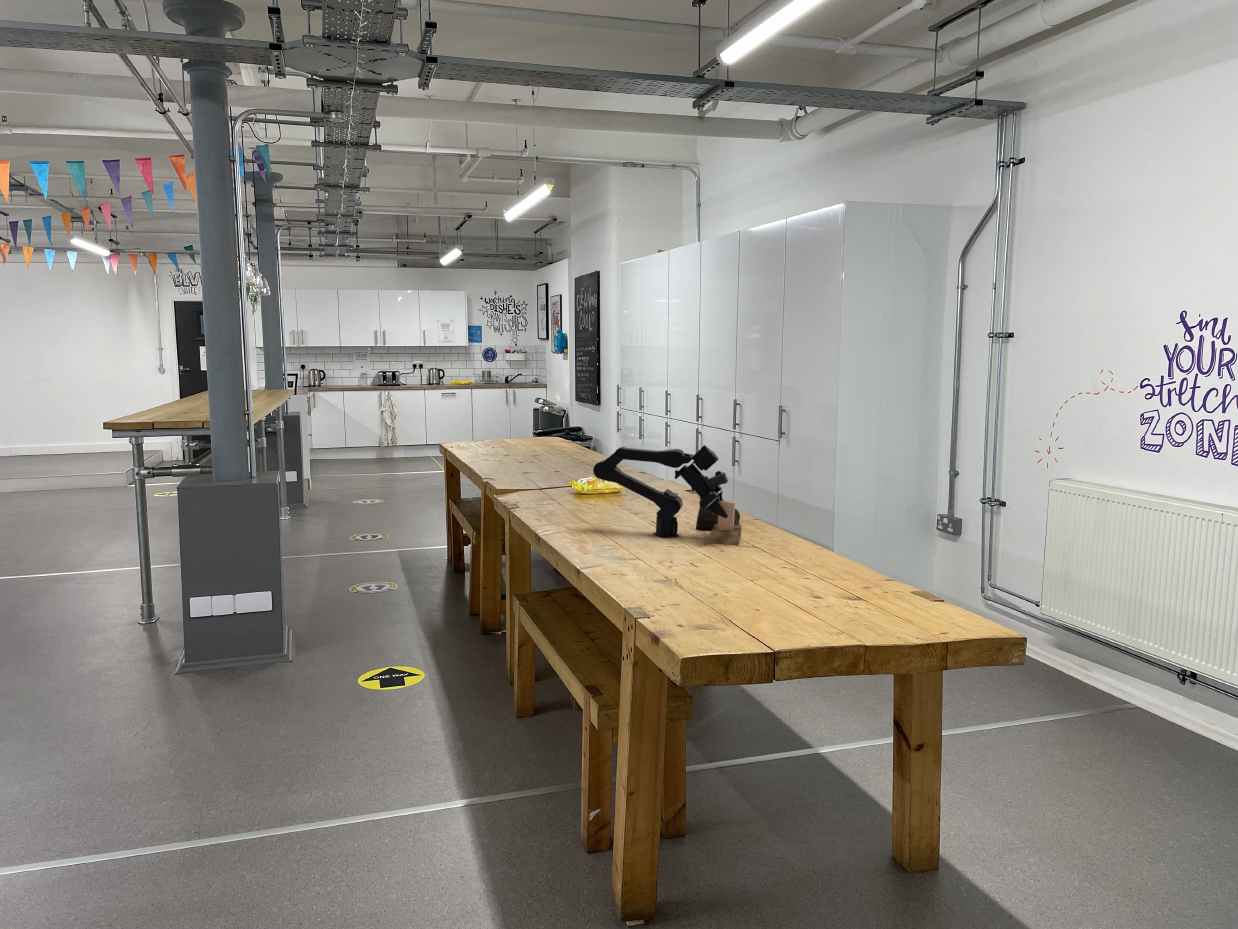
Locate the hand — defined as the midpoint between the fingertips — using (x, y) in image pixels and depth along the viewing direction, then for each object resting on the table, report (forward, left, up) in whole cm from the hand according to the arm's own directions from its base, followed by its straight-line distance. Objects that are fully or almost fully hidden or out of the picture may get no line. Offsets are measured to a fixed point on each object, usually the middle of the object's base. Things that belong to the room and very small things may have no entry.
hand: (727, 515), depth 284 cm
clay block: (0, 0, -8) cm, 8 cm away
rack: (0, 0, -8) cm, 8 cm away
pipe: (+10, +18, -9) cm, 22 cm away
